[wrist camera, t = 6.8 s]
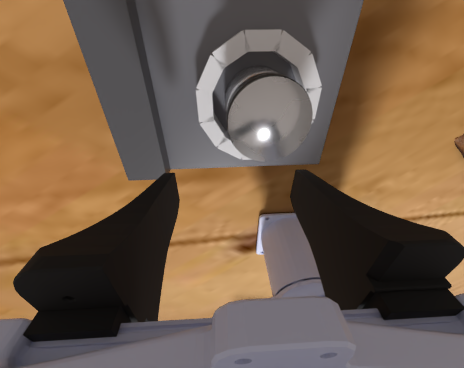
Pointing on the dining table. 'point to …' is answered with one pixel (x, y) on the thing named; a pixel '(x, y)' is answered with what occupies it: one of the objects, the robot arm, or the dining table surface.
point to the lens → (266, 113)
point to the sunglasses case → (460, 144)
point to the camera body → (206, 71)
